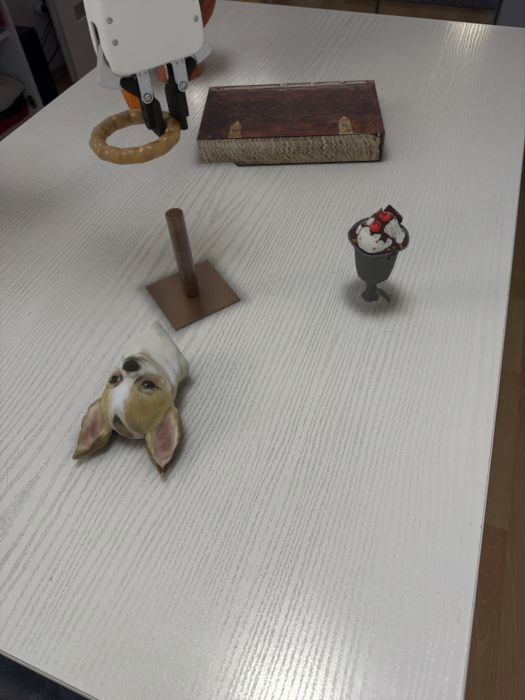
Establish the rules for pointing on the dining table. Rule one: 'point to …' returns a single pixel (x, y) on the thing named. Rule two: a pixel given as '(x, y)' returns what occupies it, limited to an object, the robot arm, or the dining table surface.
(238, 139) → the hardback book
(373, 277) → the sundae
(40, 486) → the dining table surface
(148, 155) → the ring
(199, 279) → the peg
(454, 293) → the dining table surface
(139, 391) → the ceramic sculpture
